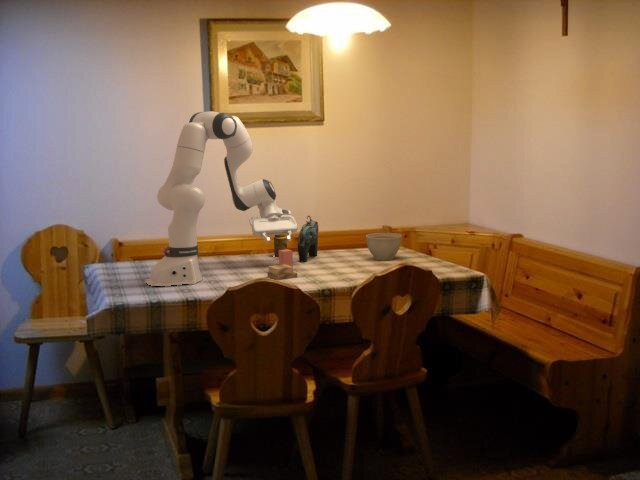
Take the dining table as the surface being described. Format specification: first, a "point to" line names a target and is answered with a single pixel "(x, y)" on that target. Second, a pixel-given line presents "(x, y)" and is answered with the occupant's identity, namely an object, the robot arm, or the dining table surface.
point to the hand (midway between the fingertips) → (278, 241)
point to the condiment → (279, 244)
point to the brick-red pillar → (286, 257)
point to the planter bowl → (383, 245)
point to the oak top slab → (280, 269)
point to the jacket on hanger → (308, 240)
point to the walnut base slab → (282, 276)
